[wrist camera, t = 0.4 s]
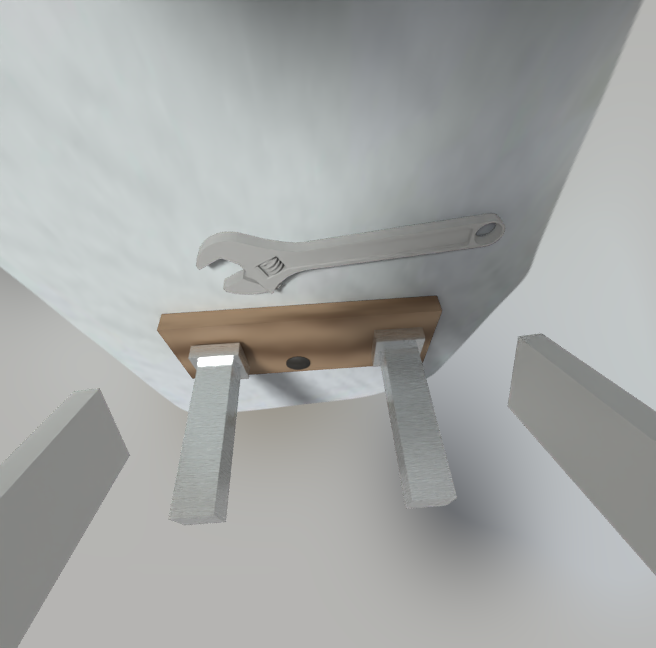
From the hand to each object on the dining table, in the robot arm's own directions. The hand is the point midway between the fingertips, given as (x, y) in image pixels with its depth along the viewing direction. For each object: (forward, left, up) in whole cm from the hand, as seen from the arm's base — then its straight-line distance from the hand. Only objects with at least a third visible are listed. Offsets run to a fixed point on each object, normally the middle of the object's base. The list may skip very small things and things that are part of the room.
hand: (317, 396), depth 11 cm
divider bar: (+21, -2, -18) cm, 28 cm away
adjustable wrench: (+10, +3, -19) cm, 21 cm away
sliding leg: (+22, -11, -16) cm, 29 cm away
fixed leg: (+22, +8, -16) cm, 29 cm away
